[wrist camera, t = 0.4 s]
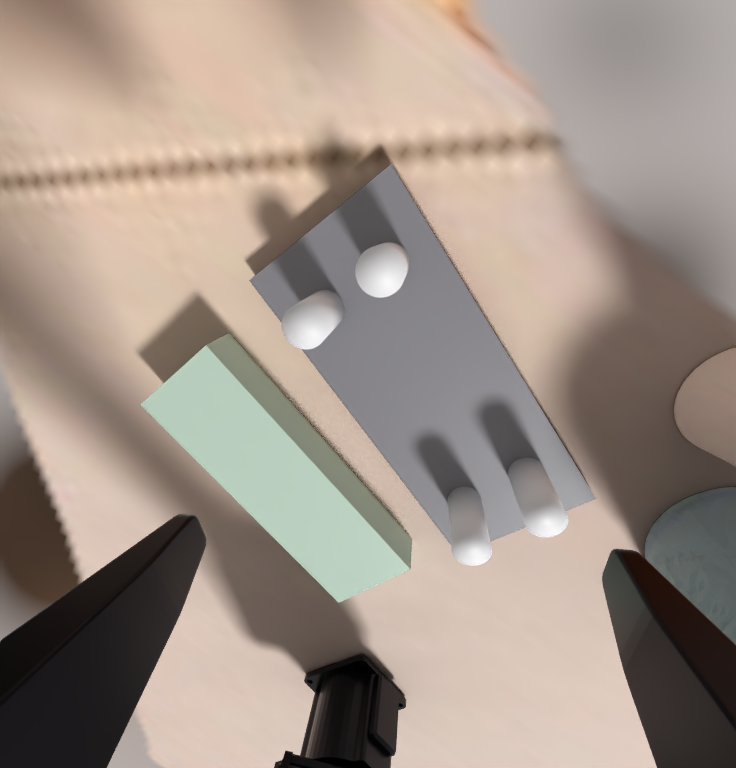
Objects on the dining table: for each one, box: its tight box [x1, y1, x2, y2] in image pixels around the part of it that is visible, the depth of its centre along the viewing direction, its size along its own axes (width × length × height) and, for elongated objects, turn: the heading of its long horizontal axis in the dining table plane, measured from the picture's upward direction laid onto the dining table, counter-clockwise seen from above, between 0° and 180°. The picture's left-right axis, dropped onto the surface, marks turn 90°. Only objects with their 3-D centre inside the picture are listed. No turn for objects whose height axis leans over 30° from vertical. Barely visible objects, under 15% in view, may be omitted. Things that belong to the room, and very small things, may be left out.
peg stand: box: [249, 164, 596, 566], centre depth 20 cm, size 9×21×5 cm, turn 36°
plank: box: [141, 333, 412, 603], centre depth 25 cm, size 6×18×3 cm, turn 39°
